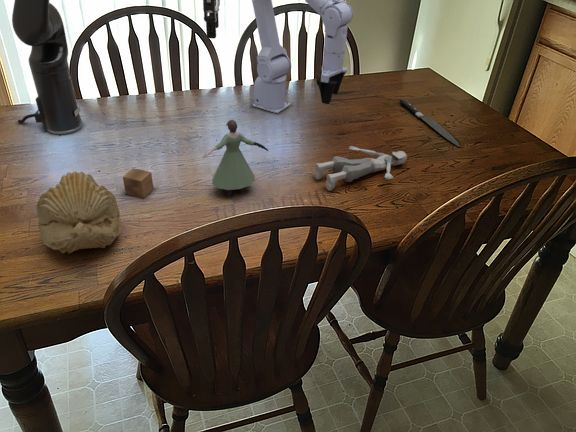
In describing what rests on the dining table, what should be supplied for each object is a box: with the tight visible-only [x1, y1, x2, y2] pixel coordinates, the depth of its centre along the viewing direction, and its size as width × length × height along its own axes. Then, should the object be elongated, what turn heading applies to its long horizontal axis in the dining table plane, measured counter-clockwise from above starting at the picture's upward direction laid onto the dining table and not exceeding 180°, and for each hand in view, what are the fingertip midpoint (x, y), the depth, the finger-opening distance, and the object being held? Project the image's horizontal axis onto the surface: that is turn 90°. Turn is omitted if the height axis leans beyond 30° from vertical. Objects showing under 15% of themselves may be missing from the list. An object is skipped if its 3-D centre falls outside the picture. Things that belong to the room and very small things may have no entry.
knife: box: [398, 98, 461, 147], centre depth 152 cm, size 32×4×1 cm, turn 20°
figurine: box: [313, 145, 408, 192], centre depth 125 cm, size 18×5×25 cm
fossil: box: [36, 170, 122, 254], centre depth 97 cm, size 15×17×15 cm
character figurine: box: [202, 119, 270, 196], centre depth 113 cm, size 16×8×18 cm, turn 114°
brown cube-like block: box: [122, 167, 154, 199], centre depth 115 cm, size 5×4×5 cm
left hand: (212, 32), depth 123 cm, fingers open, 8 cm apart
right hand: (329, 98), depth 143 cm, fingers open, 7 cm apart
